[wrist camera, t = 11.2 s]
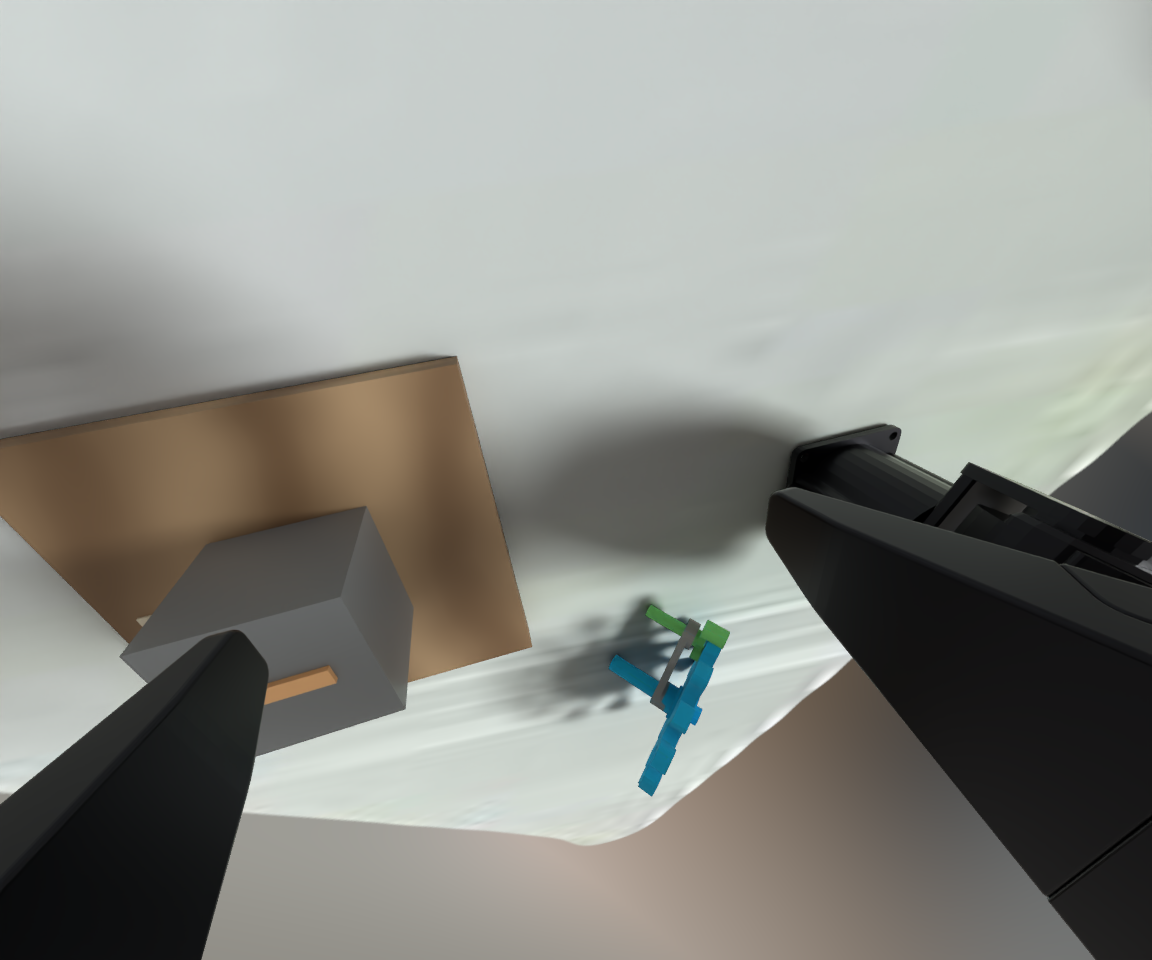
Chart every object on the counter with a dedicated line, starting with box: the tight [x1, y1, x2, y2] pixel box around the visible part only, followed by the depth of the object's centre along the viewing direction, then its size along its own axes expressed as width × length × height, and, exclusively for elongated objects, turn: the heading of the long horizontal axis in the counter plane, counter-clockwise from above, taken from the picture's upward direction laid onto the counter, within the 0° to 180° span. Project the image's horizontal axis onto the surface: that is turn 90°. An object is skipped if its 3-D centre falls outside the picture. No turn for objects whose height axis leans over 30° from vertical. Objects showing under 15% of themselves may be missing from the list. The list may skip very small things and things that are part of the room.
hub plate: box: [0, 356, 532, 682], centre depth 18 cm, size 16×16×5 cm
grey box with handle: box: [120, 506, 414, 757], centre depth 16 cm, size 6×6×6 cm
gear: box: [609, 605, 730, 797], centre depth 27 cm, size 11×6×10 cm
